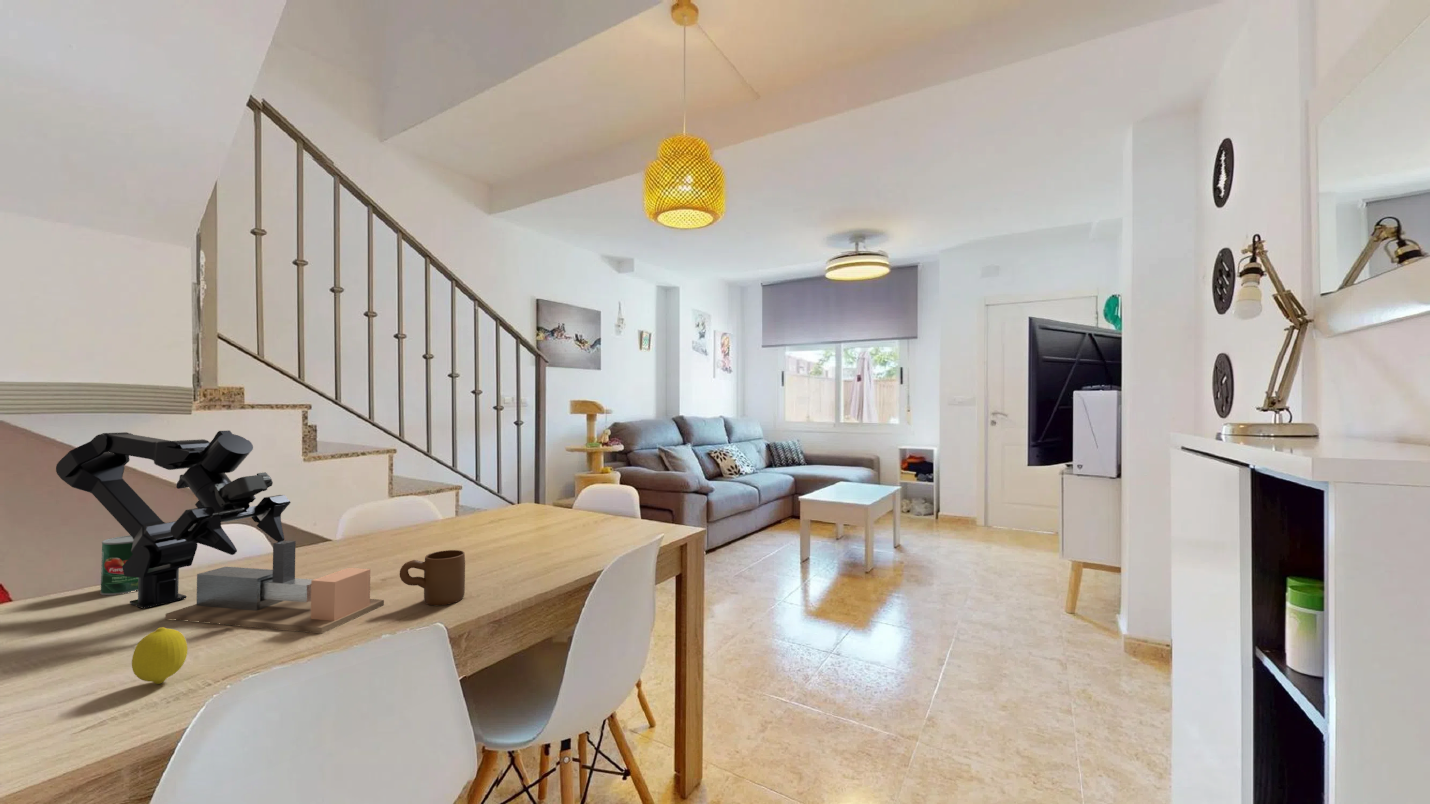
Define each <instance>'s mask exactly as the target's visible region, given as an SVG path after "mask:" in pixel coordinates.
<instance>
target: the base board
mask: <svg viewBox="0 0 1430 804" xmlns="http://www.w3.org/2000/svg"><path fill="white" fill-rule="evenodd" d="M384 605H385V600H384V599H375V598H370V605H369V606H367V607H364V608H362V609H360V610H358V611H355V612H353V613H351V614H349V615H346V616H344V617H342V618H340V619H337V620H335V621H330V620H319V619H311V601H309V602H295V601H282V602H279V603H277V604H274V605H271V606H268V607H266V608H263V609H260V610H257V611H253V610H242V609H230V608H218V607H206V606H196V603H195V604H192V605H189V606H186V607H182V608H179V609H176V610H173V611H170V612H166V613H165V614H164V615H165V617H164V619H165V620H169V619H176V620H175V621H180V620H188V621H187V622H191V621H199V622H198V623H202V622H210V623H209V624H213V623H218V624H217V625H224V624H230V625H229V626H235V625H240V626H239V627H246V626H248V628H260V629H269V630H281V631H293V632H303V633H304V632H305V633H314V634H323V633H325V632H329V631H330V630H332V629H335V628H337V627H339V626H341V625H343V624H345V623H348V622H350V621H351V620H352V621H353V620H354V619H356V618H358V617H361V616H363V615H365V614H367V613H369V612H371V611H374V610H375V609H378V608H380V607H383V606H384ZM219 623H220V624H219Z"/></svg>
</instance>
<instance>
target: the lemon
mask: <svg viewBox="0 0 1430 804" xmlns="http://www.w3.org/2000/svg"><path fill="white" fill-rule="evenodd" d="M132 654H133V655H132V659H131V668H132V672H133V673H134V675H135V676H136V677H137V678H138V679H139V680H142V681H144V682H151V683H154V684H155V685H160V684H162V683H164V682H165V681H166V680H167V679H169V678H170V677H171V676H174V675H175V674H176V673H177V672H178V671H179V670H180V669H181V668H182V667H183V666H184V663H185V661H186V659H187V657H188V656H187V655H188V643H187V640H186V637H185V636H184V634H183V633H182V632H180V630H177V629H174V628H166V627H164V626H161V627H158V628H157V629H155V631H152V632H150V633H148V634H146V635H144V637H143V638H142V639H141V640H139V642H138V643H137V645H136V646H135V648H134V651H133V653H132Z"/></svg>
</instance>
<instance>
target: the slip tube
mask: <svg viewBox="0 0 1430 804" xmlns="http://www.w3.org/2000/svg"><path fill="white" fill-rule="evenodd" d="M296 543H297V542H296V540H284V541H281V542H277V541H276V542H274V543H272V570H273V577H271V578H268V579H264V580H261V581H260V599H270V600H282V601H295V602H309V601H311V580H314V578H313V579H311V578H309V579H308V578H297V577H296V546H297V545H296Z"/></svg>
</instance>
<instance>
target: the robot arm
mask: <svg viewBox="0 0 1430 804" xmlns="http://www.w3.org/2000/svg"><path fill="white" fill-rule="evenodd" d="M253 450H254V446H253V443H252V442H251V440H249V439H246V438H245V437H244V436H241V435H238V434H235V433H234V434H233V432H231V430H218V431H217V432H216V433H215V436H214V437H213V438H212V440H211V441H209V440H207V439H202V438H201V439H183V440H168V439H162V438H158V437H157V438H156V437H150V436H144V435H137V434H133V433H131V432H126V431H125V432H104V433H100V434H97V435H96V436H95V437H93V438H91V440H90V441H89V442H86V443H84V444H82V445H79V446H77V447H75V448H73V449H70V450H69V451H68V452H67V453H66V454H65V455H64V456H63V457H62V458H61V459H60V460H59V461H58V462H57V464H56V467H55V472H56V474H57V475H58V477H59V478H60V479H61V480H62V481H63V482H64V483H66V484H67V485H68V486H70V487H71V488H73V489H77V490H80V491H83V492H86V493H90V494H92V496H93V497H94V498H95V499H96V500H97V501H98V502H99V503H100V504H101V505H102V506H103V507H104V508H105V509H106V511H108V513H109V514H110V515H111V516H112V517H113V519H115V521H117V522H118V523H119V524H120V525H121V527H122V528H123V529H124V530H125V531H126V532H127V533H128V534H129V535H131V536H132V537H133V539H134V540H133V545H132V550H131V552H132V554H133V555H132V556H131V557H130V558H129V559H128V560H127V561H126V563H125V564H124V565H123V566H122V568H123V572H124V576H126V577H138V591H137V599H134V600H129V604H130V605H133V606H136V607H138V608H141V609H147V608H151V606H152V607H156V606H159V604H160V605H163V604H168V603H172V602H177V601H181V600H184V598H185V599H187V595H185V594H181V593H180V592H179V582H180V581H179V579H180V569H181V568H185V567H191V566H192V564H193V561H194V558H195V555H196V552H197V550H198V549H197V548H198V544H199V545H203V546H205V547H206V546H207V547H210V548H213V549H215V550H218V551H220V552H223V553H225V554H228V555H231V556H233V555H235V554H237V553H238V549H237V548H236V546H235V544H234V543H233V541H232V540H231V538H230V537H229V536H228V535H227V533H226V531H225V530H224V529H223V528H222V523H223V522H224V523H226V522H227V523H228V522H231V521H239V520H242V519H248V518H251V519H252V520H253V522H255V523H257V525H256V527H257V528H258V529H260V530H261V531H262V532H264V533H265V534H266V535H268V536H269V537H270V538H271V539H272V540H274V541H276V543H277V542H281V541H285V535H284V530H283V525H282V518H281V517H282V514H283V512H284V511H285V510H286V509H287V507H288V506H289V505H290V504H291V501H290V499H288V497H287V495H285V494H276V495H271V496H265V497H263V498H262V499H261V500H260V501H259V503H257V505H254V506H253V505H252V506H250V504H251V503H253V502H254V501H255V500H256V499H257V498H256V496H255V495H257V494H260V493H261V492H265V491H268V489H269V488H270V487H272V486H273V479H272V478H271V476H270V475H269V474H268V472H257V473H256V475H255V474H254V475H248V476H241V477H237V478H236V479H234V480H231V479H230V477H228V475H227V474H229V473H232V472H234V471H235V470H237V468H238V467H240V465H241V464H242V462H244V460H245V459H246V458H247V457H248V456H249V455H250V453H251V452H253ZM130 457H136V458H142V459H148V460H151V461H153V464H154V465H155V466H158V467H161V468H163V469H165V470H169V471H172V470H173V471H174V470H183V469H187V470H186V471H185V472H184V473H183V474H180V475H179V479H178V480H177V483H176V489H179V490H180V489H185V488H186V489H187V488H189V489H190V490H191V492H192V493H193V495H194V496H195V497H196V499H197V500H198V501H196V503H194V505H195V506H196V508H190V509H185V510H184V512H183V513H182V514H181V515H180V516H179V517H178V518H177V520H175V521H170V522H165V521H163V520H162V519H161V518H160V516H159V515H157V513H156V512H154V510H153V509H152V508H151V507H150V506H149V505H148V504H147V503H146V502H145V501H144V500H143V499H142V498H141V496H140V495H139V494H138V493H137V491H135V490H134V489H133V488H132V487H131V486H130V485H129V484H128V483H127V482H126V481H125V479H124V478H123V477H124V473H125V469H126V468H125V466H126V465H127V464H128V463H129V462H130ZM155 605H156V606H155Z"/></svg>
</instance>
